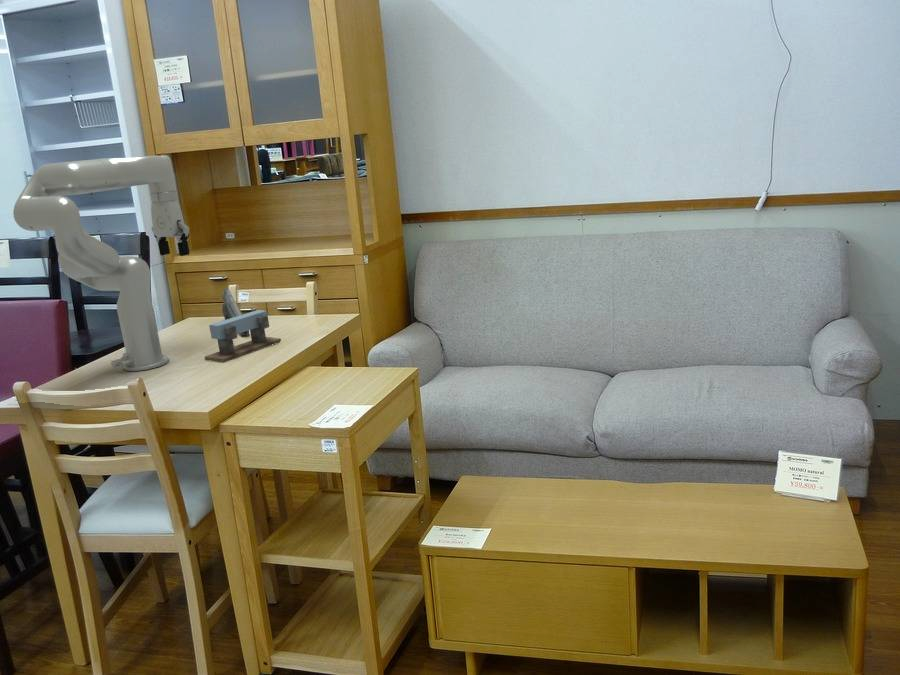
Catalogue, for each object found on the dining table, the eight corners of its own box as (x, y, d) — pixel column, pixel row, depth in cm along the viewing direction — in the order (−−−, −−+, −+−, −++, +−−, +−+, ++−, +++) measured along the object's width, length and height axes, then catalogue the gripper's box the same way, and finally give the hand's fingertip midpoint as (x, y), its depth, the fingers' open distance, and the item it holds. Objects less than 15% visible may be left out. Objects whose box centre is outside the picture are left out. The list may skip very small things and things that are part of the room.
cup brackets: (222, 362, 229) (217, 331, 226) (205, 359, 233) (199, 329, 231) (281, 341, 245) (276, 312, 243) (263, 339, 250) (259, 311, 248)
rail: (220, 339, 230) (218, 325, 229) (211, 338, 232) (209, 324, 231) (268, 323, 243) (266, 310, 242) (259, 322, 246) (257, 309, 245)
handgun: (253, 362, 262) (250, 323, 254) (244, 364, 261) (240, 325, 253) (230, 314, 285) (226, 277, 277) (221, 316, 284) (217, 279, 276)
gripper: (136, 200, 243) (147, 256, 248) (171, 199, 233) (181, 257, 237) (158, 197, 249) (168, 252, 253) (192, 195, 239) (202, 253, 243)
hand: (174, 254), depth 245 cm, fingers open, 9 cm apart
